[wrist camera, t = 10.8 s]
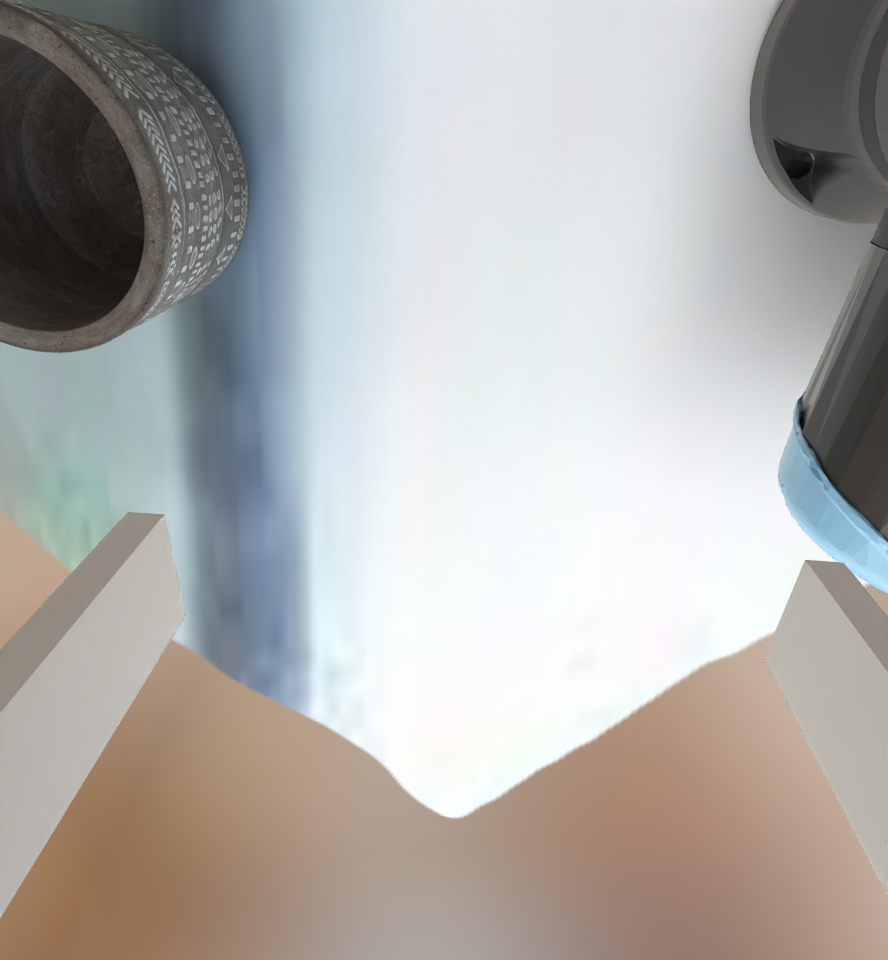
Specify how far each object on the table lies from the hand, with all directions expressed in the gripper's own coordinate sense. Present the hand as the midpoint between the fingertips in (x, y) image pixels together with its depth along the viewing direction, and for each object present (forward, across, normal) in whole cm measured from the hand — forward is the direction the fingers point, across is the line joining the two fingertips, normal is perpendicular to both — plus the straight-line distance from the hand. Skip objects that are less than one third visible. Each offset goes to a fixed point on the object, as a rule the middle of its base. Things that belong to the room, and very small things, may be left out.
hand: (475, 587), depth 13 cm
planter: (+33, +21, -5) cm, 39 cm away
